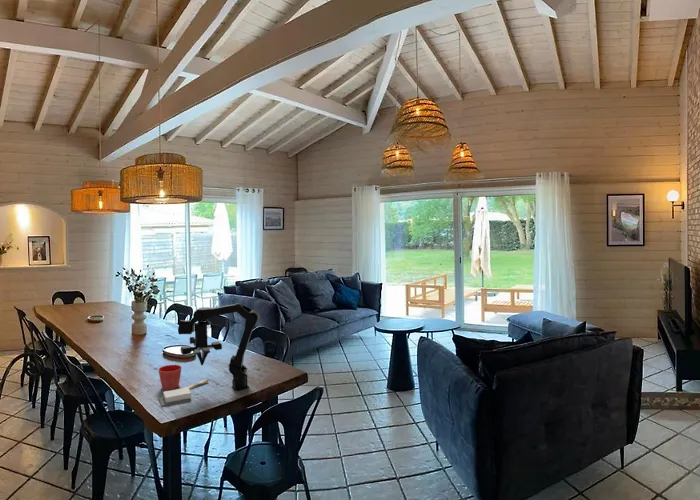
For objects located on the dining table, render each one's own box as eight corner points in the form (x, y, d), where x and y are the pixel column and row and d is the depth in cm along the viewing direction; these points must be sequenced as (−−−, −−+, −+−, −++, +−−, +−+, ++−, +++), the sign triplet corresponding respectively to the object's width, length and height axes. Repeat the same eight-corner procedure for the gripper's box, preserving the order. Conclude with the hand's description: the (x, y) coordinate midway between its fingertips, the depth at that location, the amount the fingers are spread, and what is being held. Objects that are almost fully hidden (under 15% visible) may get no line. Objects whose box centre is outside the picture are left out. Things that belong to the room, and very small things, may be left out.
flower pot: (185, 382, 227) (184, 364, 227) (177, 390, 216) (176, 371, 216) (164, 383, 227) (163, 364, 226) (155, 391, 216) (154, 371, 215)
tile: (188, 387, 212) (163, 391, 207) (191, 392, 206) (165, 397, 200) (188, 392, 213) (163, 397, 207) (191, 398, 206) (165, 403, 200)
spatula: (204, 380, 229) (204, 378, 229) (210, 382, 226) (210, 380, 226) (174, 392, 215) (174, 390, 214) (179, 395, 212) (179, 393, 212)
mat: (185, 392, 214) (185, 391, 214) (189, 401, 203) (189, 400, 203) (158, 397, 208) (158, 396, 208) (161, 407, 198) (161, 405, 198)
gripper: (216, 328, 229) (217, 357, 230) (178, 332, 219) (179, 363, 220) (221, 332, 219) (222, 363, 220) (182, 337, 210) (183, 370, 211)
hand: (201, 365), depth 218 cm, fingers closed
